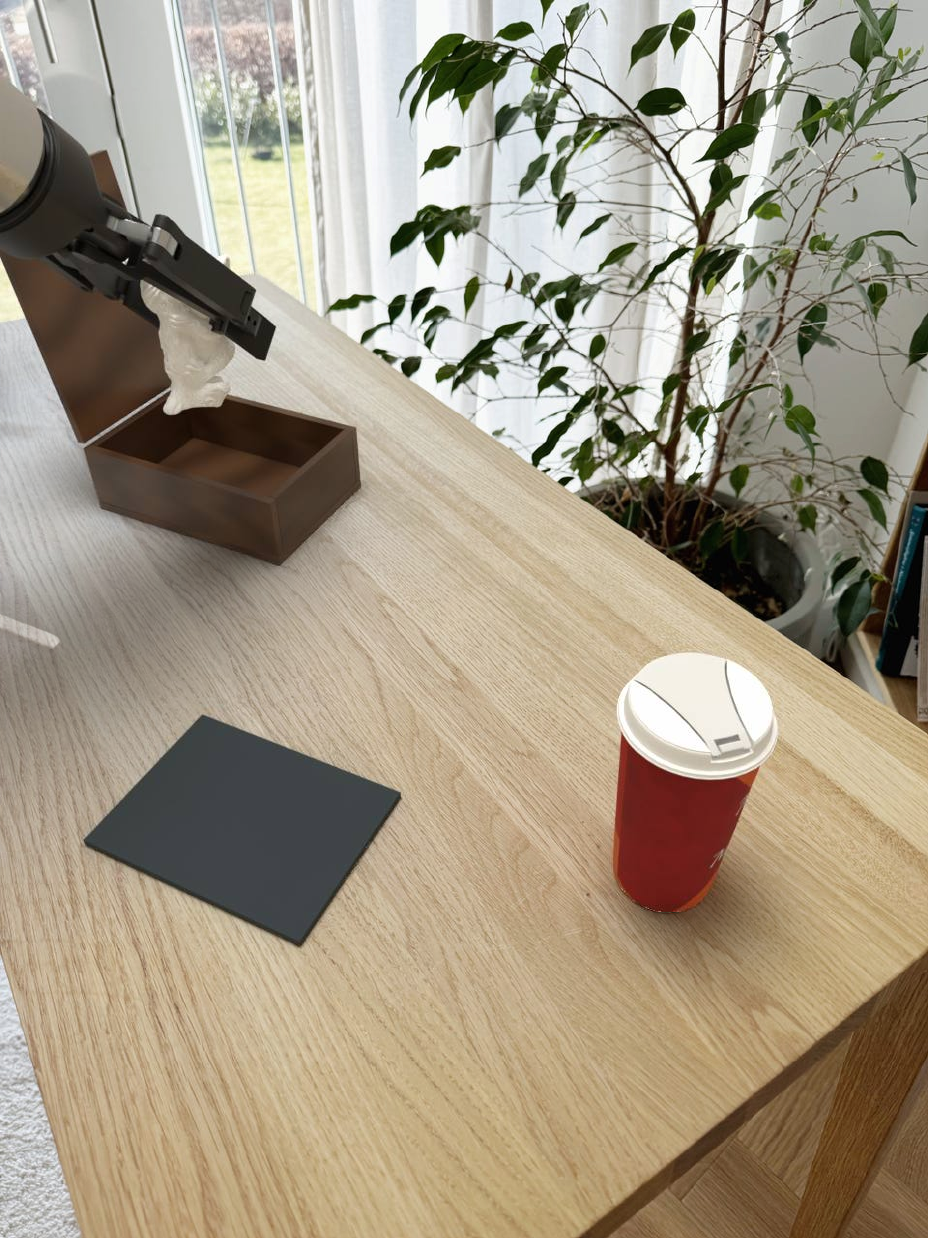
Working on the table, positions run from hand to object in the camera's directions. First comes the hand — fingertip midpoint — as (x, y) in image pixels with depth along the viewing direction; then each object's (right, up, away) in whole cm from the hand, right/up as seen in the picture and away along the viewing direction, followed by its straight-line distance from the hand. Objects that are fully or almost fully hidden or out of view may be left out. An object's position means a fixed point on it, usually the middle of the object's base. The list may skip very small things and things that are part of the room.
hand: (225, 333), depth 74 cm
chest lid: (-13, +6, +9) cm, 17 cm away
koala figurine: (-2, -5, 0) cm, 5 cm away
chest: (-3, -10, +16) cm, 20 cm away
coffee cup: (+30, -37, -14) cm, 50 cm away
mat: (+4, -35, -12) cm, 37 cm away
